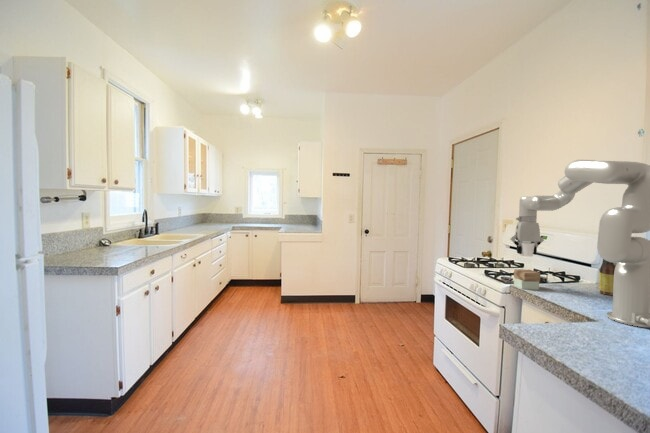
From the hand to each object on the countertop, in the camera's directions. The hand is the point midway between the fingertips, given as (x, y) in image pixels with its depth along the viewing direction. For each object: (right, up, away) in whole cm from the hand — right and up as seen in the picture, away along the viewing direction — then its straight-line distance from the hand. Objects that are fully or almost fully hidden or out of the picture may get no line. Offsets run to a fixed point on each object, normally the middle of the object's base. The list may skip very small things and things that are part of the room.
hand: (526, 253), depth 147 cm
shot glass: (0, -1, 0) cm, 1 cm away
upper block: (0, -14, 0) cm, 14 cm away
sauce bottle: (+32, -19, -10) cm, 39 cm away
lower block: (0, -18, 0) cm, 18 cm away
